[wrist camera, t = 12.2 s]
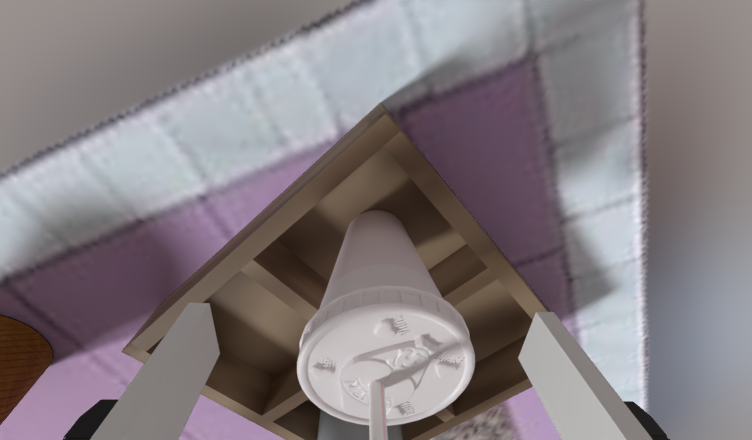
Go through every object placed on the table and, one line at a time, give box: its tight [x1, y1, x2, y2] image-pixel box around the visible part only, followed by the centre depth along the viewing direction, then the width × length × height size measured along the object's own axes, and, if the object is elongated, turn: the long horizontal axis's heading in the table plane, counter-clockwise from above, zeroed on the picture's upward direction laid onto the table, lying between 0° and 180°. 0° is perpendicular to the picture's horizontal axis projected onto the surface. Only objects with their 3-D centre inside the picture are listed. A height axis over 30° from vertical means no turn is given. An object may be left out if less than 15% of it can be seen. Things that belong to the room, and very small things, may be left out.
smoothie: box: [297, 210, 475, 440], centre depth 13 cm, size 6×6×14 cm
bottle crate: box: [122, 103, 550, 440], centre depth 22 cm, size 21×21×4 cm
